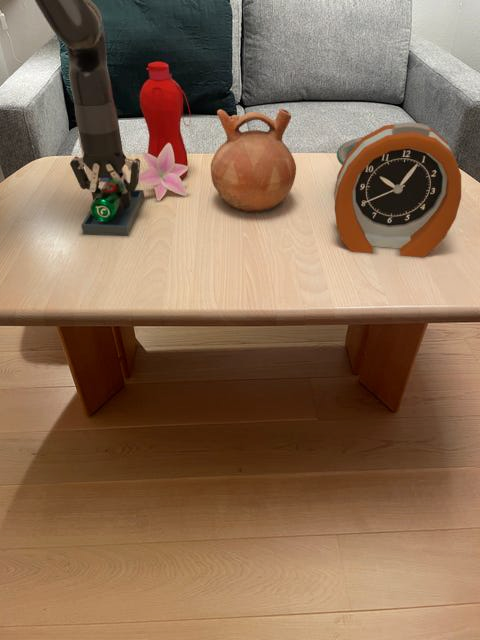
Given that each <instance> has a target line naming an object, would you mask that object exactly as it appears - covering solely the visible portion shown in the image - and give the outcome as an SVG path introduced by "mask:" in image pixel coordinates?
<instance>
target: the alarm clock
mask: <svg viewBox="0 0 480 640" xmlns="http://www.w3.org/2000/svg"><path fill="white" fill-rule="evenodd" d="M362 137H363V138H362V139H361V140H360V141H359V142H358V143H357V144H356V146H355V147H354V148H353V149H352V150H351V151H350V152H349V153H348V155H347V156H346V159H345V161H344V163H343V165H341V167H340V170H339V171H338V174H337V177H336V182H335V187H334V193H333V195H334V198H333V199H334V215H335V223H336V224H335V225H336V229H337V231H338V234H339V236H340V238H341V241H342V242H343V244H344V245H345V247H347V248H348V250H349V251H350V252H354V253H365V254H367V253H368V254H374V247H378V248H390V249H392V248H393V249H399V254H400V256H402V257H415V258H416V257H417V258H424V257H426V256H427V255H428V254H430V253H432V252H433V251H434V250H435V249H436V248H437V247H438V246H439V245H440V244H441V242H442V241H443V240H444V239H445V238H446V236H447V235H448V233H449V231H450V229H451V228H452V226H453V224H454V222H455V221H456V218H457V215H458V211H459V208H460V203H461V200H462V173H461V171H460V167H459V165H458V163H457V160H456V157H455V155H454V152H453V151H452V150H451V147H450V145H449V143H448V141H447V140H445V138H443V137H442V136H441V135H440V134H438V133H437V132H436V131H435V130H434V128H432V127H429V125H427V124H424V123H419V122H413V121H411V122H410V121H408V122H398V123H393V124H386V125H383V126H381V127H379V128H378V129H375V130H374V131H372V132H370V133H368V134H367V135H365V136H362Z"/></svg>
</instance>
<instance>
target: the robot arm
mask: <svg viewBox="0 0 480 640" xmlns="http://www.w3.org/2000/svg"><path fill="white" fill-rule="evenodd" d="M34 2H35V4H36V5H37V7H38V9H39V11H40V12H41V14H42V15H43V17H44V19H45V20H46V22H47V23H48V25H49V27H50V28H51V29H52V32H54V34H55V35H56V36H57V37H58V39H59V40H60V41H61V42H62V43H63V44H64V45H65V46H66V50H67V55H68V60H69V61H68V62H69V68H68V78H69V85H70V90H71V94H72V99H73V104H74V115H75V123H76V126H77V130H78V131H79V134H80V139H81V144H82V149H83V152H84V156H81V157H78V156H74V157H73V158H72V159H71V160H70V162H69V165H70V167H71V169H72V172H73V173H74V176H75V178H76V181H77V183H78V184H79V186H80V189H81V190H88V191H90V193H91V197H92V202H93V201H94V199H95V198H96V196H97V195H98V193H99V192H100V190H101V189H102V188H101V187H100V186H99V185H100V182H101V181H100V178H106V177H107V178H111V179H114V181H115V183H116V184H117V185H118V186H119V188H120V189H121V191H122V193H121V195H122V200H123V207H124V209H128V207H130V205H131V202H132V200H131V194H130V191H135V190H137V187H138V185H139V182H138V179H139V174H140V169H141V160H140V159H139V158H134V159H130V158H128V157H126V155H125V154H124V150H123V143H122V137H121V131H120V123H119V118H118V112H117V107H116V105H115V100H114V95H113V90H112V89H113V88H112V83H111V77H110V73H109V69H108V59H107V57H108V56H107V45H106V34H105V27H104V22H103V17H102V15H101V12H100V10H99V8H98V7H97V5H96V4H95V3H94V2H93V1H92V0H34ZM84 163H85V165H86V166H87V167H88V168H89V169H90V170H91V171H92V176H91V181H89V179H88V176H87V174H86V170H85V165H84ZM125 165H126V166H127V170H128V171H129V172H130V179H129V181H128V179H127V177H126V176H127V175H126V173H125V171H124V170H123V168H124V167H125Z"/></svg>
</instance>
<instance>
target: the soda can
mask: <svg viewBox="0 0 480 640" xmlns="http://www.w3.org/2000/svg"><path fill="white" fill-rule="evenodd" d="M100 189H101V190H100V192H99V193H98V195H97V196H96V198H95V199H94V201H93V200H92V202H91V204H90V207H89V212H90V211H91V214H92V215H93V217H94V218H95V219H96V220H98V221H100V222H103V223H108V222H111V221H113V220H114V218H115V216H116V215H117V213H118V211H119V209H120V207H121V205H122V203H123V200H122V195H121V193H122V191H121V189H120V188H119V186H118V185H117V184H116V183H115V181H114V179H111V178H109V179H108V180H107V181H104V184H103V185H102V187H101V188H100Z"/></svg>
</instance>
